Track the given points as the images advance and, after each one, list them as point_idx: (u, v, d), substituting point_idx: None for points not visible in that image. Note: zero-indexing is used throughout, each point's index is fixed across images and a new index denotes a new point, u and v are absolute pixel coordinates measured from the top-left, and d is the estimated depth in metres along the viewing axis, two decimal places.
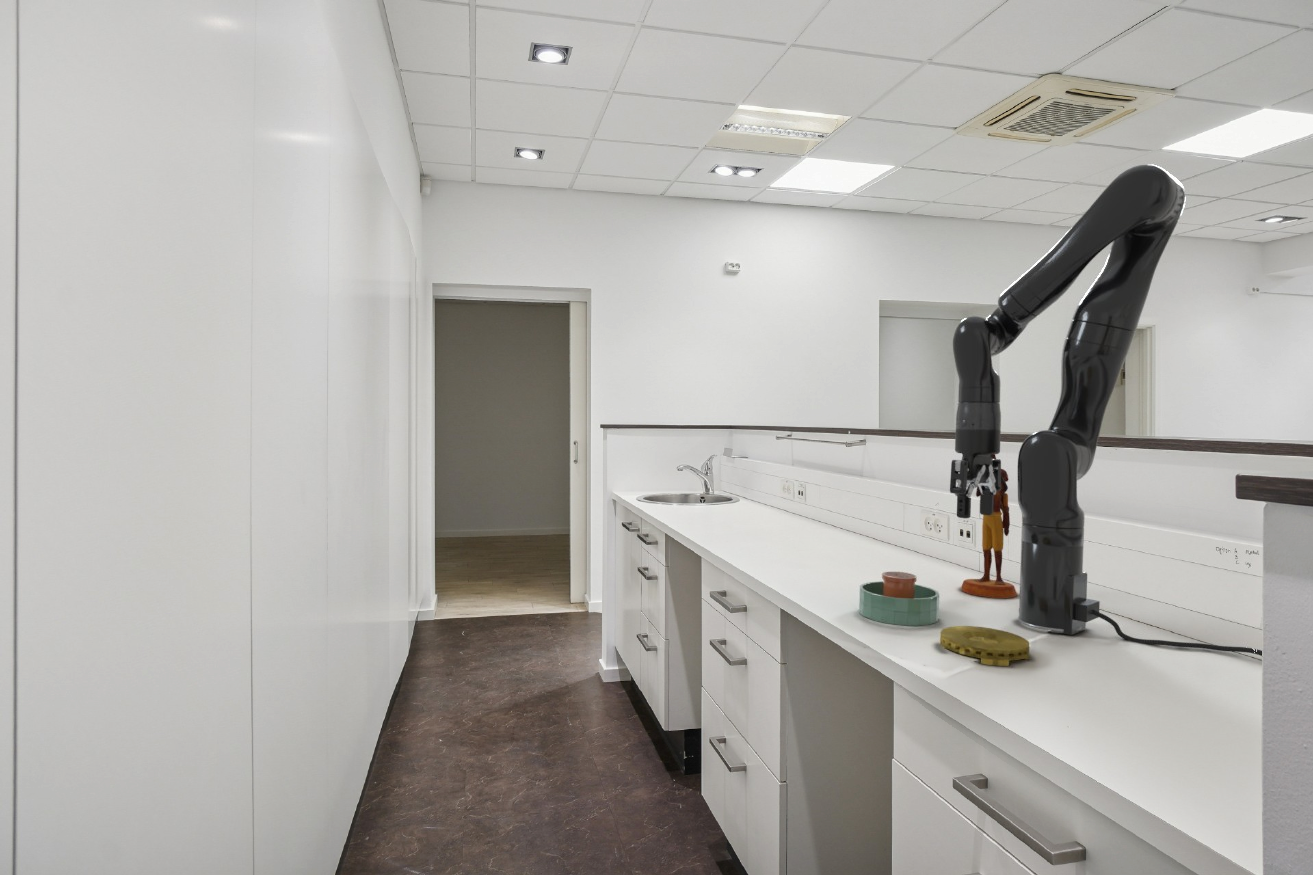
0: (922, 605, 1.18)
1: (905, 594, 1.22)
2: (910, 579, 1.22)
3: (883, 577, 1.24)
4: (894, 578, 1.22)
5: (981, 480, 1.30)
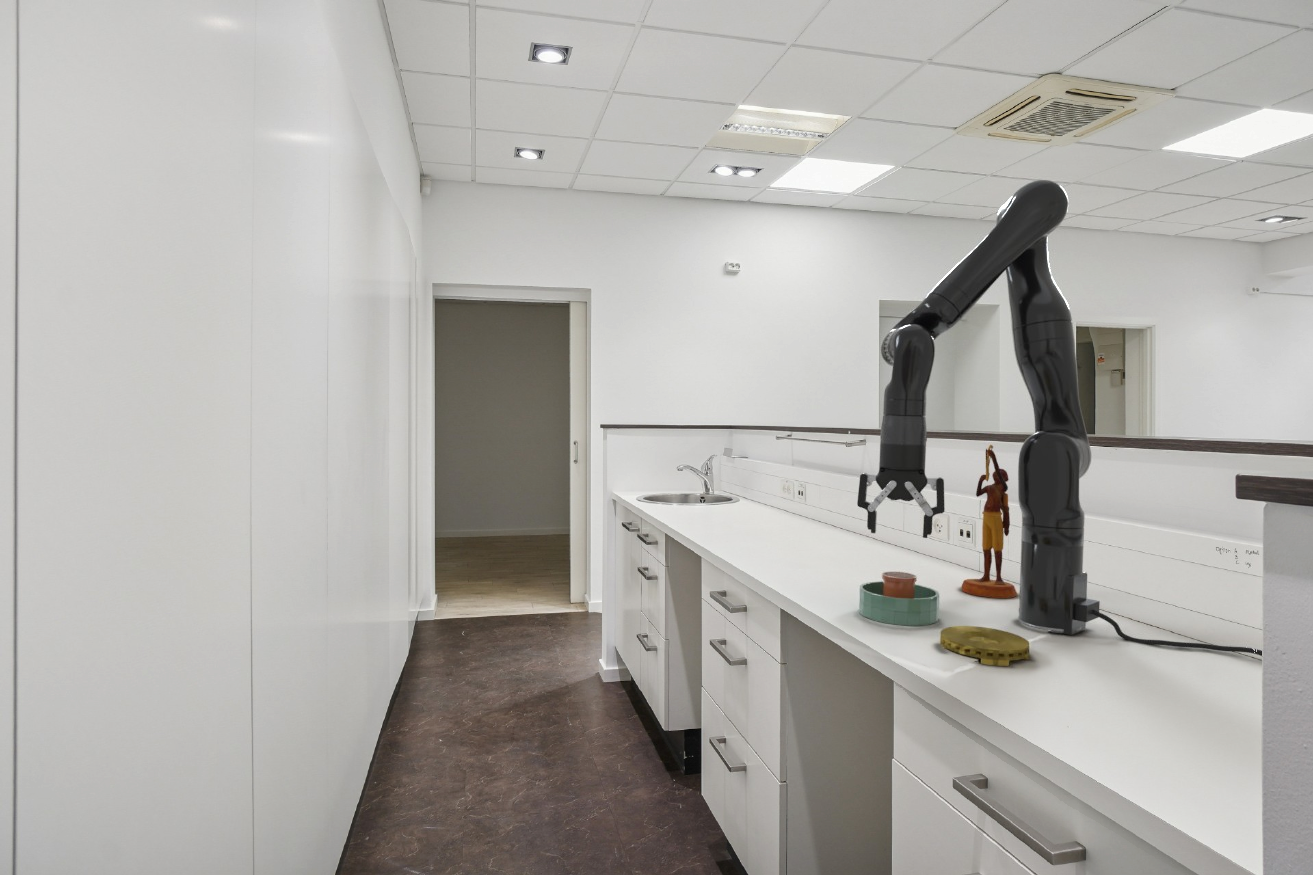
0: (922, 605, 1.18)
1: (905, 594, 1.22)
2: (910, 579, 1.22)
3: (883, 577, 1.24)
4: (894, 578, 1.22)
5: (899, 497, 1.23)
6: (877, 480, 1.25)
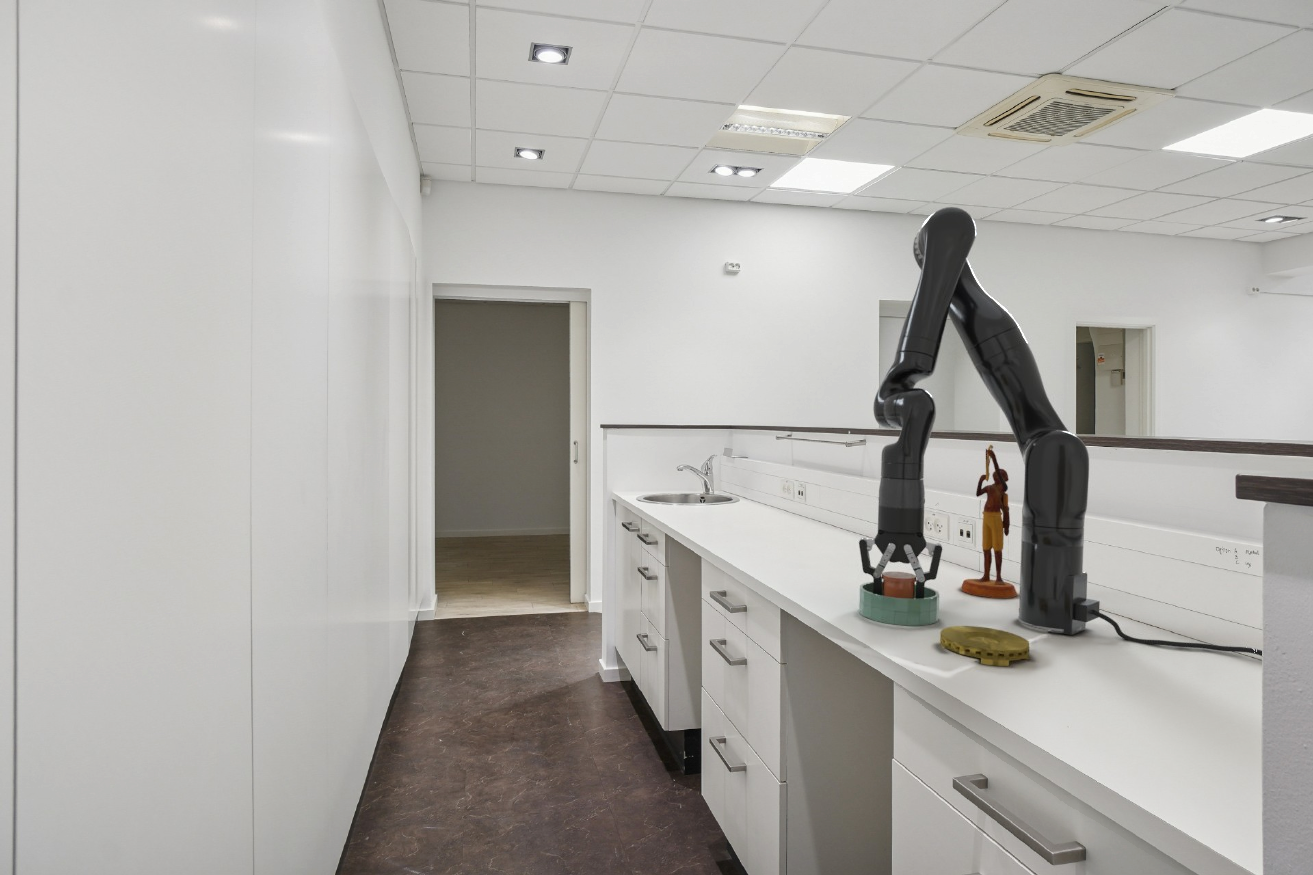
0: (922, 605, 1.18)
1: (905, 594, 1.22)
2: (910, 579, 1.22)
3: (883, 577, 1.24)
4: (894, 578, 1.22)
5: (898, 559, 1.23)
6: (876, 542, 1.25)
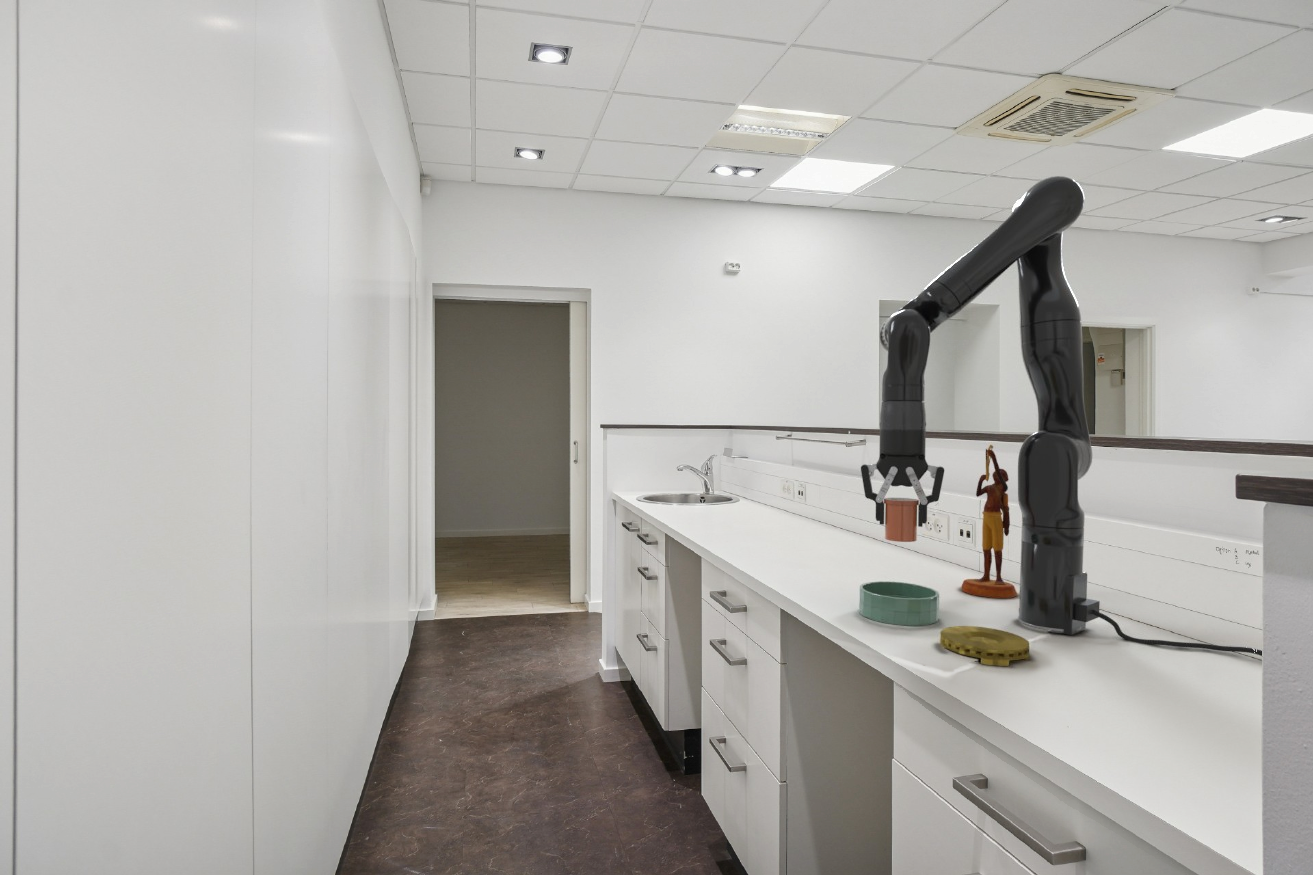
0: (922, 605, 1.18)
1: (908, 517, 1.21)
2: (912, 502, 1.21)
3: (885, 501, 1.24)
4: (896, 501, 1.22)
5: (900, 483, 1.23)
6: (878, 467, 1.24)
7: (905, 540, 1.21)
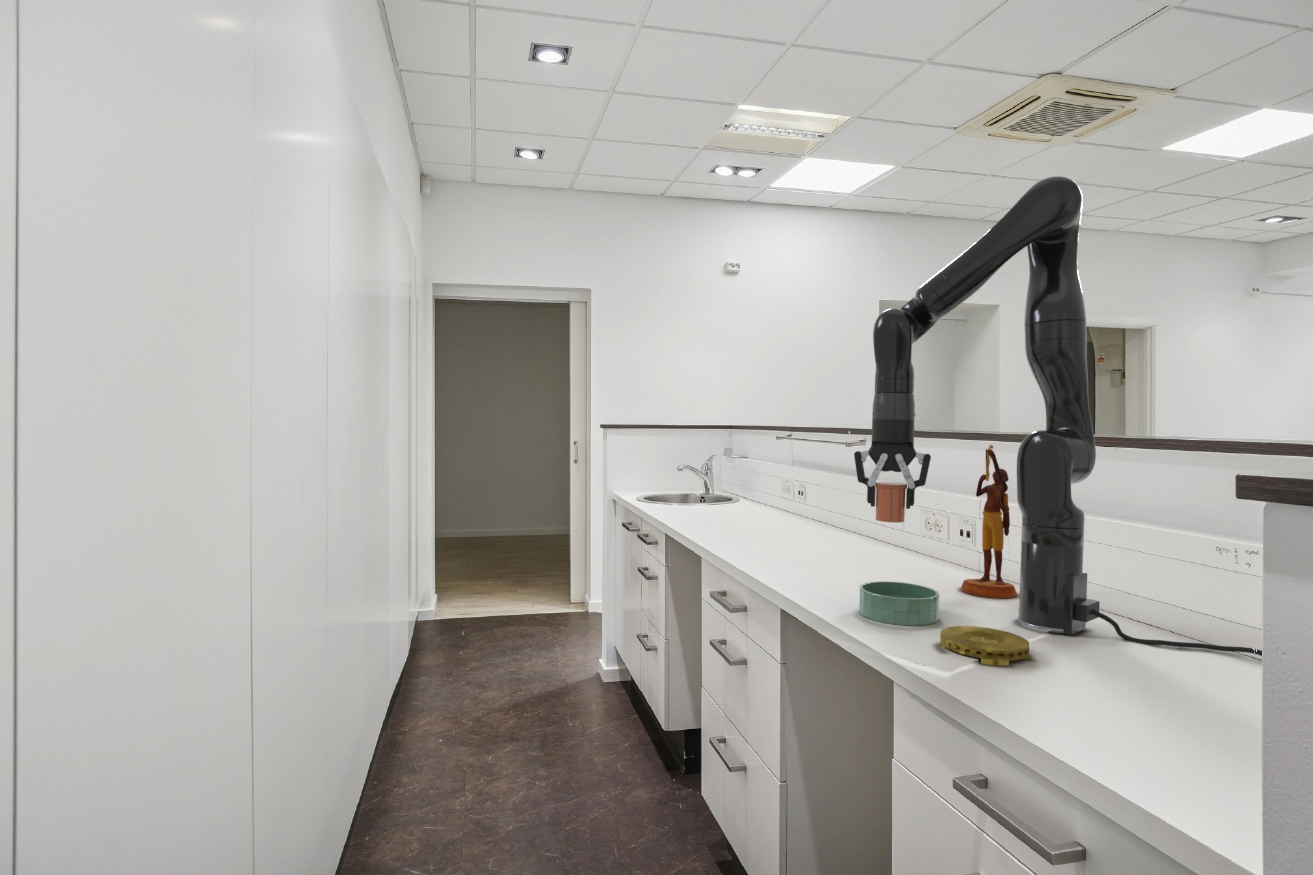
0: (922, 605, 1.18)
1: (897, 499, 1.32)
2: (901, 485, 1.32)
3: (876, 485, 1.34)
4: (886, 485, 1.32)
5: (890, 468, 1.33)
6: (870, 453, 1.35)
7: (893, 521, 1.32)
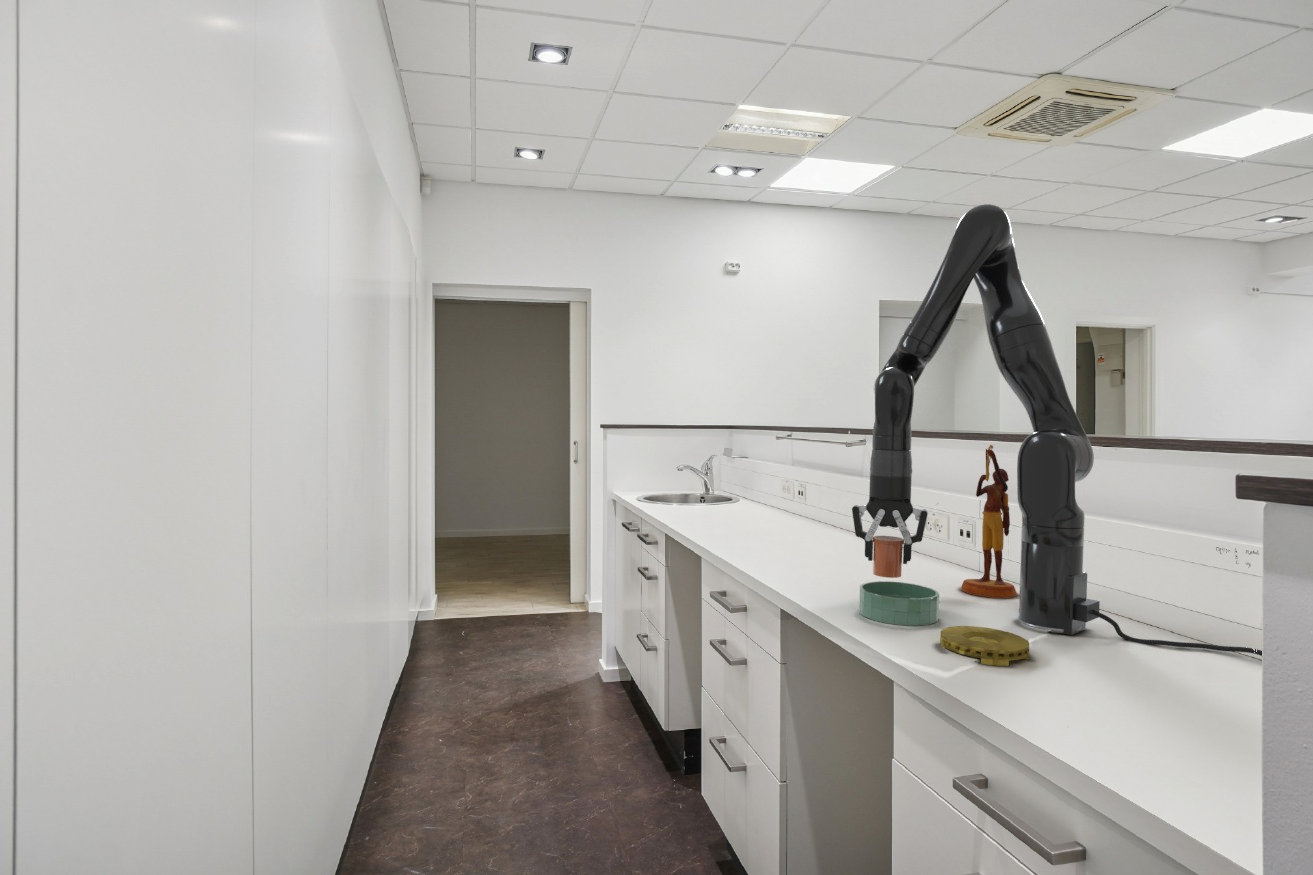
0: (922, 605, 1.18)
1: (894, 555, 1.34)
2: (898, 541, 1.34)
3: (874, 540, 1.36)
4: (883, 540, 1.34)
5: (887, 524, 1.35)
6: (867, 508, 1.37)
7: (890, 576, 1.34)
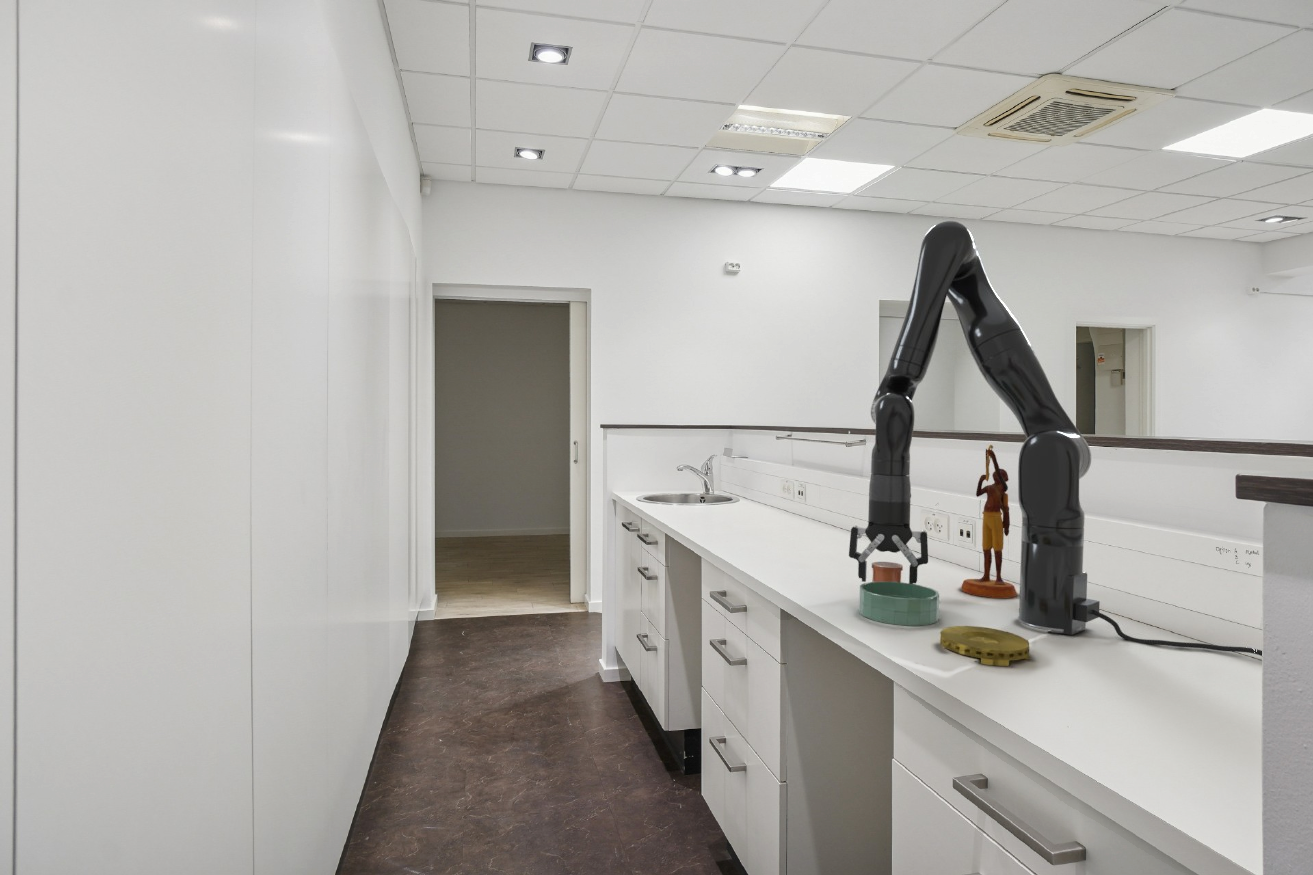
0: (922, 605, 1.18)
1: None
2: (897, 568, 1.34)
3: (872, 566, 1.36)
4: (882, 567, 1.34)
5: (886, 549, 1.35)
6: (866, 533, 1.36)
7: None
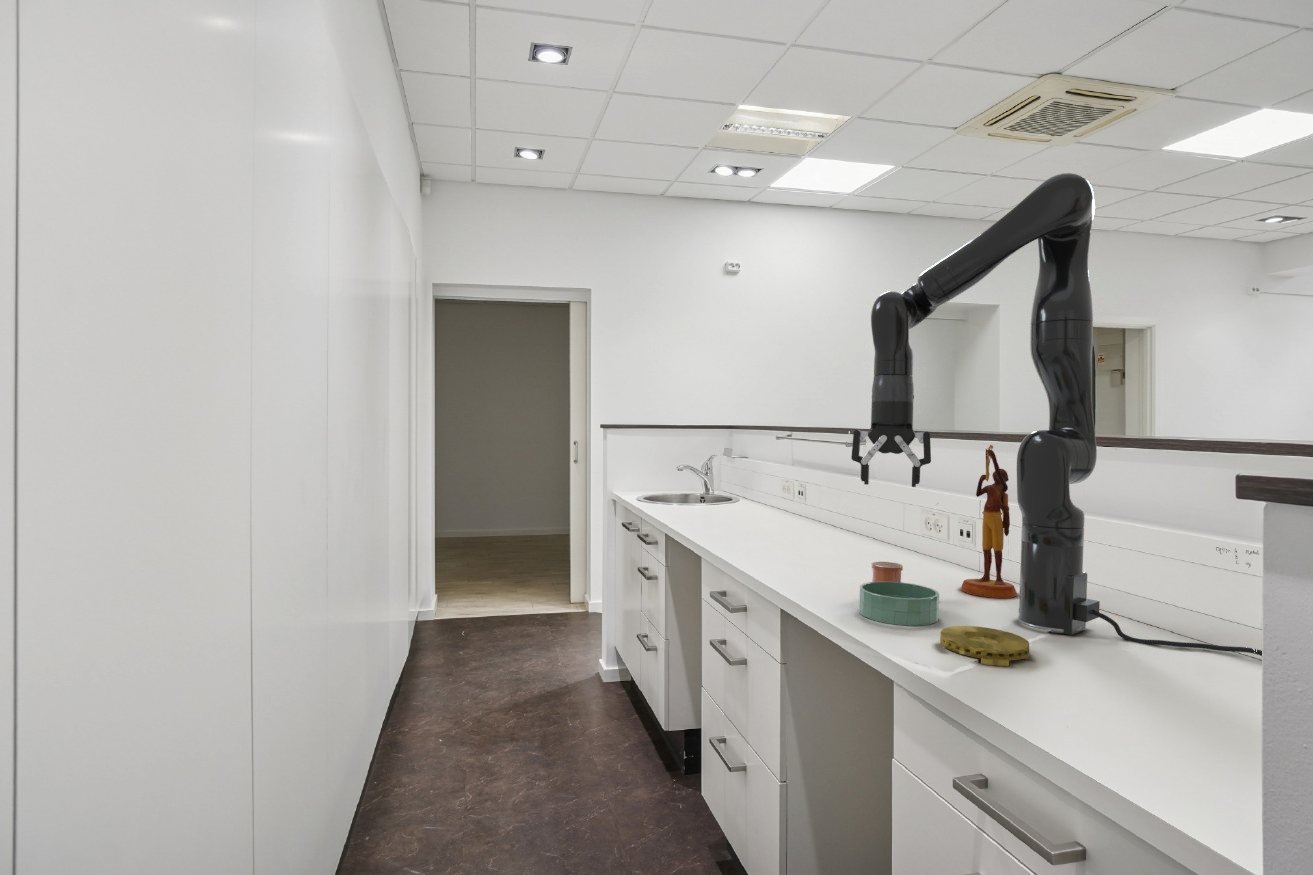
0: (922, 605, 1.18)
1: None
2: (897, 568, 1.34)
3: (872, 566, 1.36)
4: (882, 567, 1.34)
5: (889, 450, 1.35)
6: (869, 435, 1.36)
7: None
